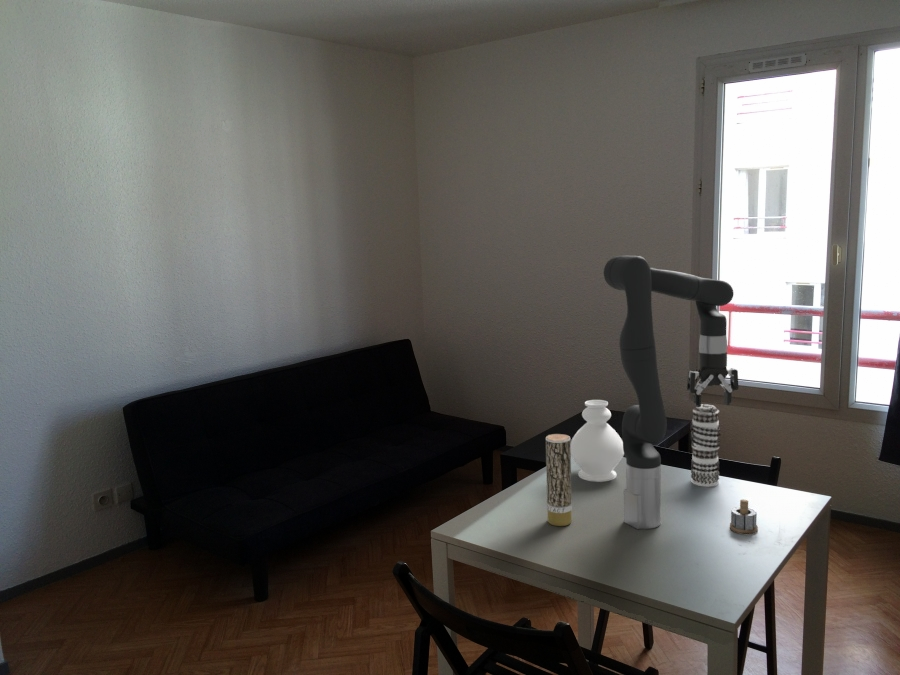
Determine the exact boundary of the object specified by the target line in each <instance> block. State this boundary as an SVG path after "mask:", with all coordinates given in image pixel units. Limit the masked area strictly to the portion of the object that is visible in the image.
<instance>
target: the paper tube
mask: <svg viewBox="0 0 900 675" xmlns="http://www.w3.org/2000/svg"><path fill="white" fill-rule="evenodd" d="M570 444H571V436H569V435H568V434H563V433H562V434H561V433H552V434H548V435H546V437H545V465H546V469H545V471H546V499H547V500H546V502H547V503H546V504H547V505H546V506H547V508H546V509H547V522H548V523H549V524H550V525H552V526H555V527H565V526H568V525H570V524H571V523H572V520H573V517H572V516H573V515H572V514H573V511H572V509H573V508H572V505H573V504H572V465H571V464H572V461H571V459H572V458H571V457H572V456H571V451H570Z"/></svg>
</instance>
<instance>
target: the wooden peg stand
mask: <svg viewBox="0 0 900 675" xmlns="http://www.w3.org/2000/svg"><path fill="white" fill-rule="evenodd" d="M739 502H740V503H739V507H740V513H741V514H748V508H749V500H748V499H740V500H739ZM729 529H730V530H731V532H734V533H736V534H740V535H755V534H756V533H758V529H759V527H758V524H756V528H755V529H753V530H740V529H736V528H734V527H733V526H732V525H731V522H730V523H729Z"/></svg>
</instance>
